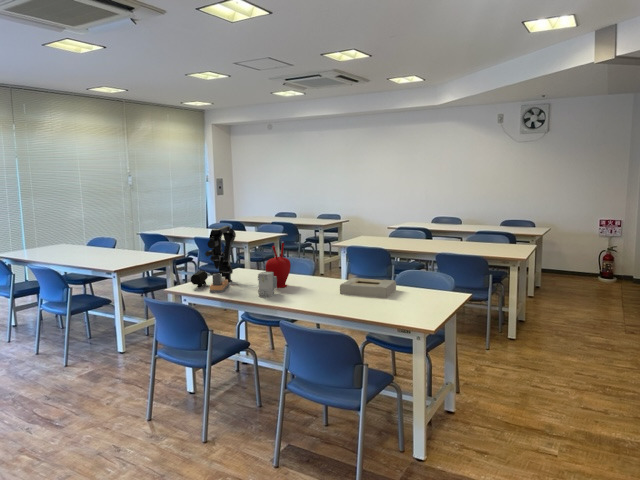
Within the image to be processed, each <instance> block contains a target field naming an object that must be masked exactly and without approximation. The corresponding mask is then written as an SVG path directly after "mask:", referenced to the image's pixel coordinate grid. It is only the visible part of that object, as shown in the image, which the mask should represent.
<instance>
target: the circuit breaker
mask: <svg viewBox="0 0 640 480" xmlns="http://www.w3.org/2000/svg"><path fill="white" fill-rule="evenodd" d="M257 281H258V289H257V290H258V291H257V293H258V297H259V298H270V297H272V296H274V295H275V290H276V289H278V288H277V276H274V272H266V271H261V272H259V273H258V274H257Z"/></svg>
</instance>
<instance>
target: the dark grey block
mask: <svg viewBox="0 0 640 480" xmlns="http://www.w3.org/2000/svg"><path fill="white" fill-rule="evenodd" d="M212 283H213V286H217V285H222V274H220V273H213V274H212Z"/></svg>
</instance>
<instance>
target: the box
mask: <svg viewBox="0 0 640 480" xmlns="http://www.w3.org/2000/svg"><path fill="white" fill-rule="evenodd" d="M396 290H397V282H396V280H394V279H393V280H392V279H372V278H360V277H351V278H349V279H348V280H346V281H344V282H343V283H341V284H339V295H346V296H347V295H349V296H361V297H368V298H369V297H371V298H382V299H388V298H389V297H390V296H391V295H392V294H393V293H395V291H396Z"/></svg>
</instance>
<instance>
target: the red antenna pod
mask: <svg viewBox="0 0 640 480" xmlns="http://www.w3.org/2000/svg"><path fill="white" fill-rule="evenodd" d="M284 247H285V243H284V242H282V243H281V252H280V256H278V254H277V250H276V246H275V245H272V246H271V248H272V250H273V254H274V257H272V258H269V259H268V260H267V261H266V262H265V268H264V269H265V272H274V276H277V288H276V289H285V288H286V287H288V284H286V282H287V280H288V277H289V275H290V273H291V265H292V263H291V261H290V260H289V259H288V258H287V257H284Z"/></svg>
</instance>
